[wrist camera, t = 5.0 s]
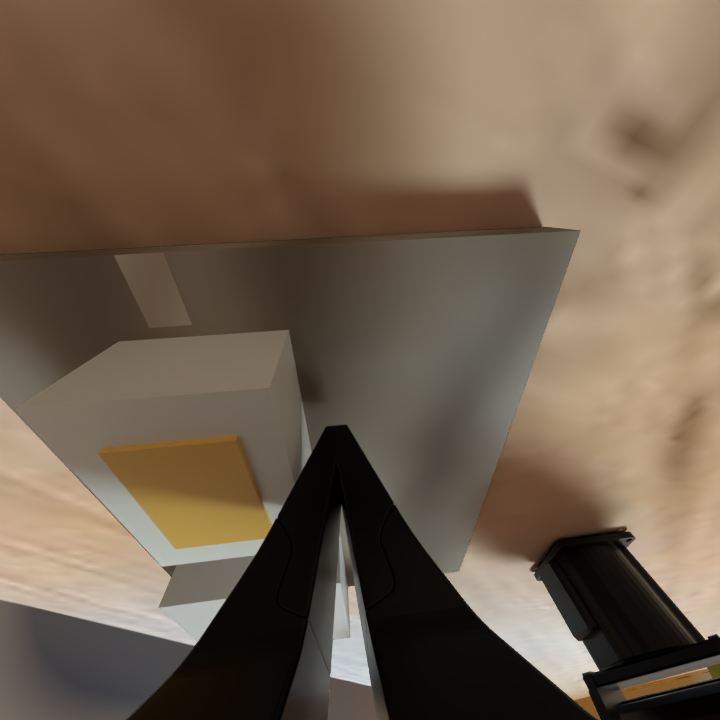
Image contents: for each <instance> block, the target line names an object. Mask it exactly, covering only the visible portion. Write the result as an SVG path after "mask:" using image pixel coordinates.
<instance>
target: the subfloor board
mask: <svg viewBox="0 0 720 720" xmlns="http://www.w3.org/2000/svg"><path fill="white" fill-rule="evenodd" d="M579 233H580V230H571V229H561V228H551V227H529V228H510V229H491V230H472V231H452V232H433V233H414V234H394V235H375V236H356V237H336V238H317V239H298V240H279V241H259V242H240V243H221V244H201V245H182V246H163V247H144V248H124V249H105V250H86V251H66V252H47V253H28V254H8V255H0V397H1V398H2V399H3V400H4V401H5V402H6V403H7V405H8V406H9V407H10V408H11V409H12V410H13V411H14V412H15V413H16V414H17V415H18V416H19V417H20V418H21V419H22V420H23V421H24V422H25V423H26V425H27V426H28V427H29V428H30V429H31V430H32V431H33V432H34V433H35V434H36V435H37V436H38V437H39V438H40V439H41V440H42V441H43V442H44V443H45V445H46V446H47V447H48V448H49V449H50V450H51V451H52V452H53V453H54V454H55V455H56V456H57V457H58V458H59V459H60V460H61V461H62V462H63V463H64V465H65V466H66V467H67V468H68V469H69V470H70V471H71V472H72V473H73V474H74V475H75V476H76V477H77V478H78V479H79V480H80V481H81V482H82V480H81V479H80V478H79V477H78V476H77V475H76V474H75V473H74V472H73V471H72V470H71V469H70V468H69V467H68V465H67V464H66V463H65V462H64V461H63V460H62V459H61V458H60V457H59V456H58V455H57V454H56V453H55V452H54V451H53V449H52V448H51V447H50V446H49V445H48V444H47V443H46V442H45V441H44V440H43V439H42V438H41V437H40V436H39V434H38V433H37V432H36V431H35V430H34V429H33V428H32V427H31V426H30V425H29V424H28V423H27V422H26V421H25V419H24V418H23V417H22V416H21V415H20V414H19V413H18V412H17V411H16V410H15V408H16V407H18V406H19V405H21V404H22V403H24V402H26V401H27V400H29V399H30V398H32V397H33V396H35V395H36V394H38V393H40V392H41V391H43V390H44V389H46V388H47V387H49V386H50V385H52V384H54V383H55V382H57V381H58V380H60V379H61V378H63V377H64V376H66V375H67V374H69V373H71V372H72V371H74V370H75V369H77V368H78V367H80V366H81V365H83V364H85V363H86V362H88V361H89V360H91V359H92V358H94V357H95V356H97V355H99V354H100V353H102V352H103V351H105V350H106V349H108V348H109V347H111V346H112V345H114V344H116V343H117V342H119V341H133V340H147V339H162V338H177V337H191V336H206V335H221V334H235V333H250V332H265V331H279V330H289V334H290V339H291V344H292V350H293V355H294V360H295V366H296V371H297V376H298V382H299V387H300V392H301V398H302V403H303V408H304V414H305V419H306V425H307V430H308V435H309V441H310V446H311V451H313V449H314V447H315V445H316V444H317V442H318V440H319V438H320V436H321V434H322V432H323V431H324V429H325V427H326V426H333V425H344V424H346V425H348V427H349V429H350V430H351V432H352V434H353V435H354V437H355V439H356V440H357V442H358V444H359V445H360V447H361V448H362V450H363V452H364V453H365V455H366V457H367V458H368V460H369V462H370V463H371V465H372V467H373V468H374V470H375V472H376V473H377V475H378V477H379V478H380V480H381V482H382V483H383V485H384V487H385V488H386V490H387V492H388V493H389V495H390V497H391V498H392V500H393V502H394V505H396V507H397V508H398V510H399V512H400V513H401V515H402V516H403V518H404V520H405V521H406V523H407V524H408V526H409V527H410V529H411V530H412V532H413V533H414V535H415V536H416V538H417V539H418V540H419V542H420V543H421V545H422V546H423V547H424V549H425V550H426V551H427V553H428V554H429V555H430V557H431V558H432V559H433V560H434V562H435V563H436V564H437V566H438V567H439V568H440V570H441V571H442V572H443V573H450V572H457V571H459V570H460V567H461V564H462V562H463V559H464V556H465V553H466V550H467V547H468V545H469V542H470V539H471V536H472V533H473V531H474V528H475V525H476V522H477V519H478V517H479V514H480V511H481V508H482V505H483V503H484V500H485V497H486V494H487V491H488V489H489V486H490V483H491V480H492V477H493V475H494V472H495V469H496V466H497V463H498V461H499V458H500V455H501V452H502V449H503V447H504V444H505V441H506V438H507V435H508V433H509V430H510V427H511V424H512V421H513V418H514V416H515V413H516V410H517V407H518V404H519V402H520V399H521V396H522V393H523V390H524V388H525V385H526V382H527V379H528V376H529V374H530V371H531V368H532V365H533V362H534V360H535V357H536V354H537V351H538V348H539V346H540V343H541V340H542V337H543V334H544V332H545V329H546V326H547V323H548V320H549V318H550V315H551V312H552V309H553V306H554V304H555V301H556V298H557V295H558V292H559V289H560V287H561V284H562V281H563V278H564V275H565V273H566V270H567V267H568V264H569V261H570V259H571V256H572V253H573V250H574V247H575V245H576V242H577V239H578V236H579ZM82 483H83V482H82ZM83 484H84V483H83ZM84 486H85V487H86V488H87V489H88V490H89V491H90V492H91V493H92V494H93V495H94V496H95V497H96V495H95V494H94V493H93V492H92V491H91V490H90V489H89V488H88V487H87V486H86V485H85V484H84ZM96 498H97V497H96ZM97 499H98V498H97ZM98 500H99V499H98ZM99 501H100V500H99ZM100 502H101V501H100ZM101 503H102V502H101ZM102 504H103V503H102ZM103 506H104V507H105V508H106V509H107V510H108V511H109V512H110V510H109V509H108V508H107V507H106V506H105V505H104V504H103ZM110 513H111V512H110ZM111 514H112V513H111ZM112 515H113V514H112ZM113 516H114V515H113ZM114 517H115V516H114ZM115 518H116V517H115ZM116 519H117V518H116ZM117 520H118V519H117ZM118 521H119V520H118ZM119 522H120V521H119ZM120 523H121V522H120ZM121 524H122V523H121ZM122 526H123V527H124V525H123V524H122ZM124 528H125V527H124ZM125 529H126V528H125ZM126 530H127V529H126ZM127 531H128V530H127ZM128 532H129V531H128ZM129 533H130V532H129ZM130 534H131V533H130ZM131 535H132V534H131ZM132 536H133V535H132ZM133 537H134V536H133ZM340 537H341V544H342V550H343V557H344V564H345V570H346V577H347V584H348V586H355V583H354V577H353V571H352V565H351V559H350V553H349V547H348V541H347V535H346V529H345V523H344V517H343V511H342V505H341V519H340ZM134 538H135V537H134ZM135 539H136V538H135ZM136 540H137V539H136ZM137 541H138V540H137ZM141 546H142V545H141ZM142 547H143V546H142ZM143 548H144V547H143ZM144 549H145V548H144ZM145 550H146V549H145ZM146 551H147V550H146ZM147 552H148V551H147ZM148 553H149V552H148ZM149 554H150V553H149ZM150 555H151V554H150ZM151 556H152V555H151ZM160 566H161V565H160ZM161 567H162V566H161ZM162 568H163V569H164V570H165V571H166V572H167V573H168V574H169V575H170V576H171V577H172V575H173V572H174V570H175V568H176V565H172V566H164V567H162Z"/></svg>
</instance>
